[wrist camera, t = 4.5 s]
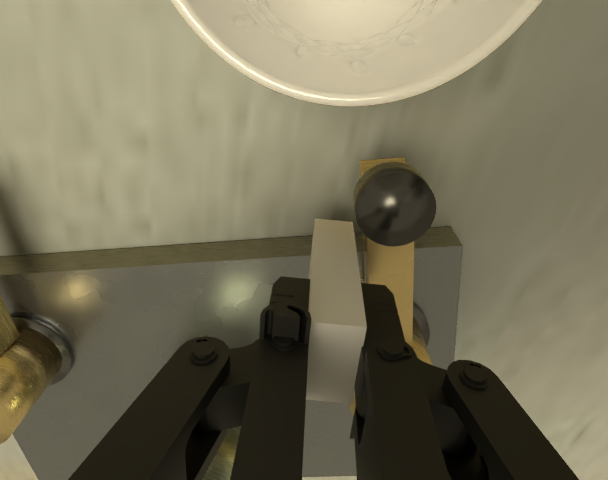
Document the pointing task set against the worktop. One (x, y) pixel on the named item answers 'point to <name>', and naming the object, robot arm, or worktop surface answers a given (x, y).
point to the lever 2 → (394, 234)
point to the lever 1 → (22, 370)
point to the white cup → (354, 43)
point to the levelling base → (184, 333)
